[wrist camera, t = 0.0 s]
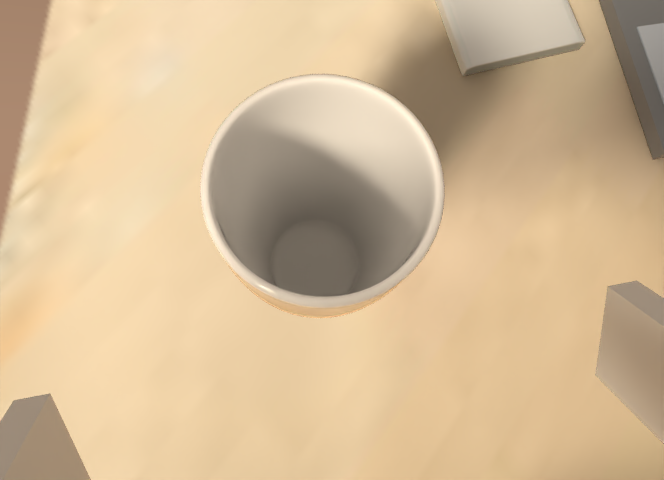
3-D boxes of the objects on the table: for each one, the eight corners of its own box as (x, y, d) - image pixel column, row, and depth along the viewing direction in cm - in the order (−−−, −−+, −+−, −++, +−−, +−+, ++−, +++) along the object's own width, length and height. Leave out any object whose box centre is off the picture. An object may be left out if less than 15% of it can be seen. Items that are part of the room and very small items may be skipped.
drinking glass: (234, 244, 28) (152, 132, 13) (337, 191, 28) (371, 31, 14) (289, 350, 26) (269, 360, 12) (394, 292, 27) (497, 234, 13)
